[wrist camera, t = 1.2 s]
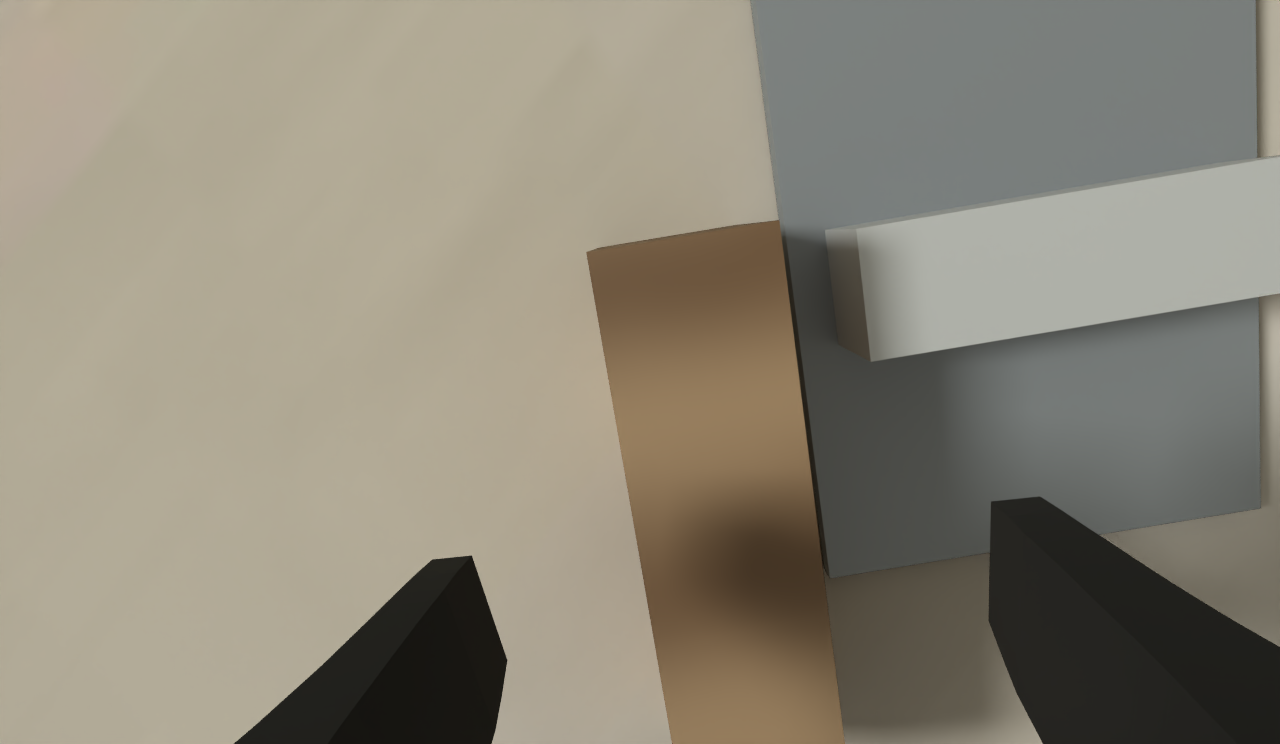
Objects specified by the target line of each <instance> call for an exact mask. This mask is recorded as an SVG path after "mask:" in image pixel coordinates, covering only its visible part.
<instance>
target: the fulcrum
mask: <svg viewBox="0 0 1280 744" xmlns="http://www.w3.org/2000/svg"><path fill="white" fill-rule="evenodd" d="M751 8H752V16H753V23H754V31H755V39H756V46H757V54H758V62H759V69H760V77H761V85H762V93H763V100H764V108H765V116H766V123H767V131H768V139H769V146H770V154H771V162H772V169H773V177H774V185H775V193H776V200H777V208H778V216H779V221H780V229H781V237H782V245H783V253H784V261H785V269H786V277H787V285H788V293H789V300H790V308H791V316H792V323H793V331H794V339H795V347H796V354H797V362H798V370H799V377H800V385H801V393H802V400H803V408H804V416H805V423H806V431H807V439H808V447H809V454H810V462H811V470H812V477H813V485H814V493H815V500H816V508H817V516H818V524H819V531H820V539H821V547H822V554H823V562H824V569H825V571H826V572H827V574H828V576H829V577H830V578H835V577H842V576H848V575H854V574H860V573H866V572H872V571H879V570H885V569H891V568H897V567H903V566H909V565H915V564H922V563H928V562H934V561H940V560H946V559H952V558H959V557H965V556H971V555H977V554H983V553H989V552H990V522H991V501H1000V500H1010V499H1020V498H1029V497H1039V496H1040V497H1042V498H1043V499H1045V500H1047V501H1048V502H1050V503H1051V504H1053V505H1054V506H1056V507H1058V508H1059V509H1061V510H1062V511H1064V512H1065V513H1067V514H1068V515H1070V516H1071V517H1073V518H1074V519H1076V520H1077V521H1079V522H1080V523H1082V524H1083V525H1085V526H1086V527H1088V528H1089V529H1091V530H1092V531H1094V532H1095V533H1097V534H1098V535H1100V534H1106V533H1112V532H1119V531H1125V530H1131V529H1137V528H1143V527H1149V526H1155V525H1162V524H1168V523H1174V522H1180V521H1186V520H1192V519H1199V518H1205V517H1211V516H1217V515H1223V514H1229V513H1236V512H1242V511H1248V510H1254V509H1260V508H1261V493H1260V392H1259V297H1261V296H1267V295H1273V294H1279V293H1280V155H1277V156H1269V157H1261V158H1257V87H1256V0H751Z"/></svg>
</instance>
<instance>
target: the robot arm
mask: <svg viewBox="0 0 1280 744" xmlns="http://www.w3.org/2000/svg"><path fill="white" fill-rule="evenodd" d="M989 623H990V625H991V628H992V631H993V633H994V636H995V639H996V641H997V644H998V647H999V649H1000V652H1001V655H1002V657H1003V660H1004V662H1005V665H1006V667H1007V670H1008V672H1009V675H1010V677H1011V680H1012V682H1013V685H1014V687H1015V690H1016V692H1017V695H1018V696H1019V698H1020V700H1021V702H1022V704H1023V706H1024V708H1025V710H1026V712H1027V714H1028V716H1029V718H1030V720H1031V722H1032V723H1033V725H1034V727H1035V729H1036V731H1037V733H1038V735H1039V737H1040V739H1041V741H1042V742H1043V744H1280V647H1278V646H1277V645H1275V644H1273V643H1272V642H1270V641H1268V640H1266V639H1265V638H1263V637H1261V636H1259V635H1258V634H1256V633H1254V632H1252V631H1251V630H1249V629H1247V628H1245V627H1244V626H1242V625H1240V624H1238V623H1237V622H1235V621H1233V620H1232V619H1230V618H1228V617H1227V616H1225V615H1223V614H1222V613H1220V612H1218V611H1217V610H1215V609H1213V608H1212V607H1210V606H1208V605H1207V604H1205V603H1203V602H1202V601H1200V600H1199V599H1197V598H1195V597H1194V596H1192V595H1191V594H1189V593H1187V592H1186V591H1184V590H1183V589H1181V588H1179V587H1178V586H1176V585H1175V584H1173V583H1171V582H1170V581H1168V580H1167V579H1165V578H1164V577H1162V576H1160V575H1159V574H1157V573H1156V572H1154V571H1153V570H1151V569H1150V568H1148V567H1147V566H1145V565H1143V564H1142V563H1140V562H1139V561H1137V560H1136V559H1134V558H1133V557H1131V556H1130V555H1128V554H1127V553H1125V552H1124V551H1122V550H1121V549H1119V548H1118V547H1116V546H1115V545H1113V544H1112V543H1110V542H1109V541H1107V540H1106V539H1104V538H1103V537H1101V536H1100V535H1098V534H1097V533H1095V532H1094V531H1092V530H1091V529H1089V528H1088V527H1086V526H1085V525H1083V524H1082V523H1080V522H1079V521H1077V520H1076V519H1074V518H1073V517H1071V516H1070V515H1068V514H1067V513H1065V512H1064V511H1062V510H1061V509H1059V508H1058V507H1056V506H1054V505H1053V504H1051V503H1050V502H1048V501H1047V500H1045V499H1043V498H1042V497H1040V496H1039V497H1029V498H1020V499H1010V500H1000V501H991V522H990V575H989ZM506 665H507V658H506V655H505V652H504V649H503V646H502V644H501V641H500V638H499V635H498V632H497V629H496V626H495V623H494V620H493V617H492V614H491V611H490V608H489V605H488V602H487V599H486V596H485V593H484V590H483V588H482V585H481V582H480V579H479V576H478V573H477V570H476V567H475V564H474V561H473V558H472V556H463V557H454V558H444V559H434V560H431V561H430V562H429V563H428V564H427V565H426V566H425V567H423V568H422V569H421V570H420V571H419V572H418V573H417V574H416V575H415V576H414V577H413V578H411V579H410V580H409V581H408V582H407V583H406V584H405V585H404V586H403V587H402V588H401V589H400V590H399V591H398V592H397V593H396V594H395V595H394V596H393V597H392V598H391V599H390V600H389V601H388V602H387V603H386V604H385V605H384V606H383V607H382V608H381V609H380V610H379V611H378V612H377V613H376V614H375V615H374V616H373V617H372V618H370V619H369V620H368V621H367V622H366V623H365V624H364V625H363V626H362V627H361V628H360V629H359V630H358V631H357V632H356V633H355V634H354V635H353V636H352V637H351V638H350V639H349V640H348V641H347V642H346V643H345V644H344V645H343V646H342V647H341V648H340V649H338V650H337V651H336V652H335V653H334V654H333V655H332V656H331V657H330V658H329V659H328V660H327V661H326V662H325V663H324V664H323V665H322V666H321V667H320V668H319V669H318V670H316V671H315V672H314V673H313V674H312V675H311V676H310V677H309V678H308V679H306V680H305V681H304V682H303V683H302V684H301V685H300V686H299V687H298V688H296V689H295V690H294V691H293V692H292V693H291V694H290V695H289V696H288V697H286V698H285V699H284V700H283V701H282V702H281V703H280V704H279V705H278V706H276V707H275V708H274V709H273V710H272V711H271V712H270V713H269V714H268V715H266V716H265V717H264V718H263V719H262V720H261V721H260V722H259V723H258V724H256V725H255V726H254V727H253V728H252V729H251V730H249V731H248V732H247V733H246V734H245V735H244V736H242V737H241V738H240V739H239V740H238V741H236V742H235V743H234V744H491V743H492V740H493V736H494V733H495V729H496V724H497V719H498V713H499V708H500V702H501V697H502V691H503V684H504V678H505V671H506Z"/></svg>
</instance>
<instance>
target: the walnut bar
mask: <svg viewBox="0 0 1280 744" xmlns="http://www.w3.org/2000/svg"><path fill="white" fill-rule="evenodd" d="M586 253H587V259H588V264H589V270H590V276H591V282H592V287H593V293H594V299H595V304H596V310H597V316H598V322H599V327H600V333H601V339H602V345H603V350H604V356H605V362H606V367H607V373H608V379H609V385H610V390H611V396H612V402H613V408H614V413H615V419H616V425H617V430H618V436H619V442H620V448H621V453H622V459H623V465H624V471H625V476H626V482H627V488H628V493H629V499H630V505H631V511H632V516H633V522H634V528H635V534H636V539H637V545H638V551H639V556H640V562H641V568H642V574H643V579H644V585H645V591H646V597H647V602H648V608H649V614H650V619H651V625H652V631H653V637H654V642H655V648H656V654H657V660H658V665H659V671H660V677H661V682H662V688H663V694H664V700H665V705H666V711H667V717H668V723H669V728H670V734H671V740H672V744H845V741H844V733H843V725H842V717H841V709H840V701H839V693H838V685H837V677H836V669H835V661H834V653H833V645H832V637H831V629H830V621H829V613H828V605H827V597H826V589H825V581H824V573H823V565H822V557H821V549H820V541H819V533H818V525H817V517H816V509H815V501H814V493H813V485H812V477H811V469H810V461H809V453H808V445H807V437H806V429H805V421H804V413H803V405H802V397H801V389H800V381H799V373H798V365H797V357H796V349H795V341H794V333H793V325H792V317H791V309H790V301H789V293H788V285H787V277H786V269H785V261H784V253H783V245H782V237H781V229H780V221H779V220H777V221H768V222H759V223H750V224H742V225H733V226H727V227H721V228H715V229H709V230H703V231H697V232H691V233H685V234H679V235H673V236H667V237H661V238H655V239H649V240H643V241H637V242H631V243H625V244H619V245H613V246H607V247H601V248H597V249H594V250H591V251H589V252H586Z"/></svg>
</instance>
